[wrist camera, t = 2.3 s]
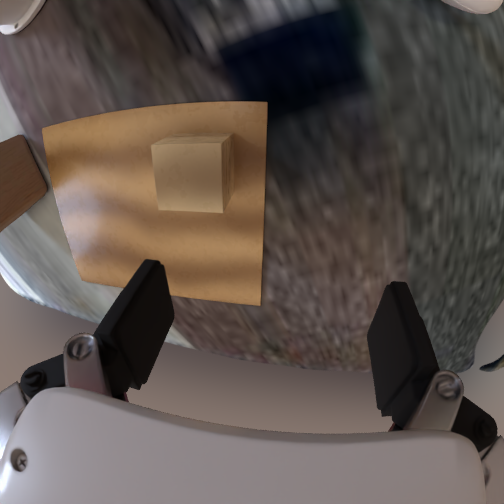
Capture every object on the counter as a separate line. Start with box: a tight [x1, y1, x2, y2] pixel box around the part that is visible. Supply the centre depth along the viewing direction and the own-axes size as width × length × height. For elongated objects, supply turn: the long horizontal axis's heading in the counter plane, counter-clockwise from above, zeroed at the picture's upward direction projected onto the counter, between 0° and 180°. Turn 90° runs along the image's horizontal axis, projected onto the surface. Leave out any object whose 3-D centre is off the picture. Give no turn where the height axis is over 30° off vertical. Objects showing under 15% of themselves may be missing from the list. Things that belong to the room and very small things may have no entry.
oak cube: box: [151, 133, 234, 213], centre depth 25 cm, size 6×6×5 cm
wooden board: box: [42, 101, 268, 306], centre depth 31 cm, size 24×28×1 cm
